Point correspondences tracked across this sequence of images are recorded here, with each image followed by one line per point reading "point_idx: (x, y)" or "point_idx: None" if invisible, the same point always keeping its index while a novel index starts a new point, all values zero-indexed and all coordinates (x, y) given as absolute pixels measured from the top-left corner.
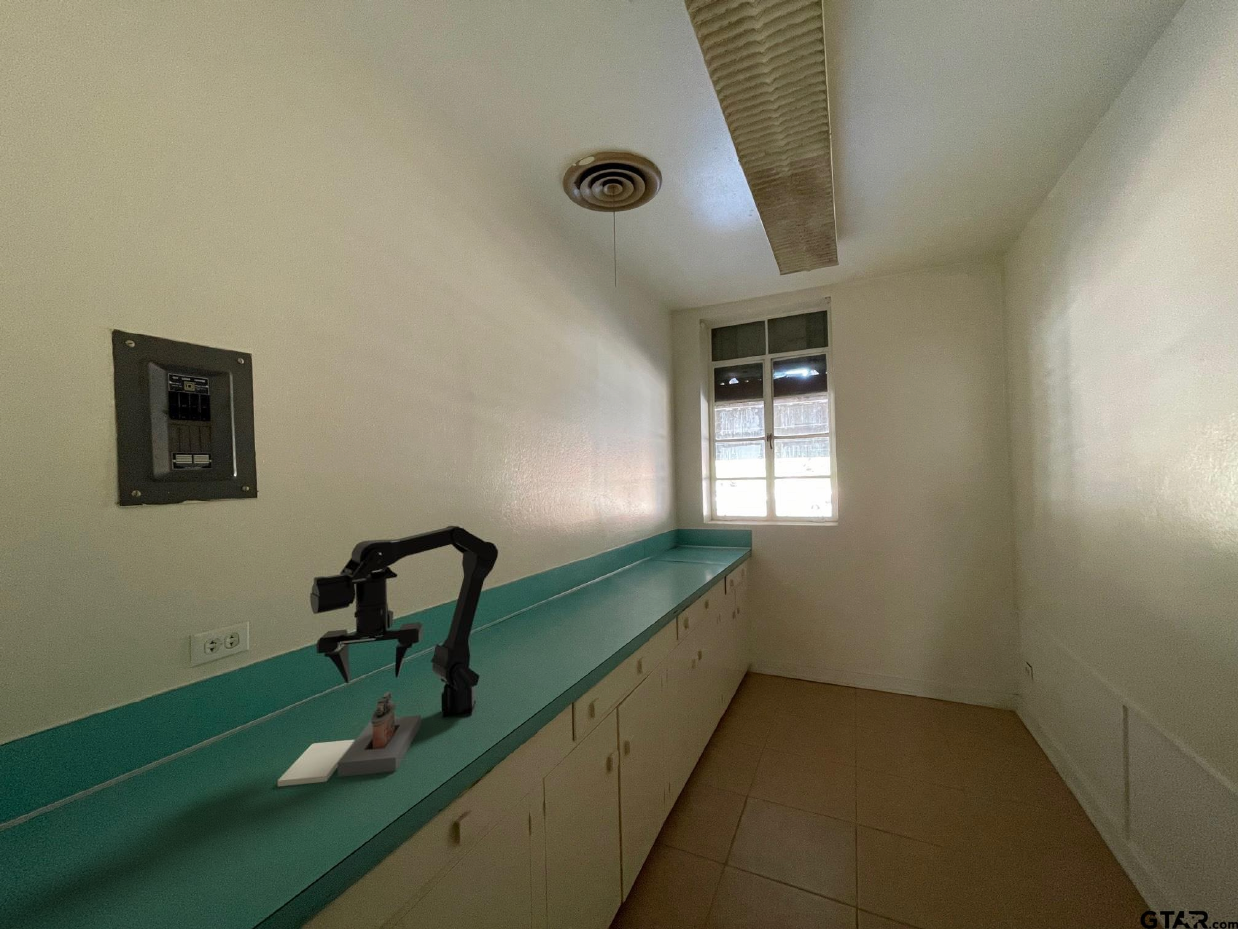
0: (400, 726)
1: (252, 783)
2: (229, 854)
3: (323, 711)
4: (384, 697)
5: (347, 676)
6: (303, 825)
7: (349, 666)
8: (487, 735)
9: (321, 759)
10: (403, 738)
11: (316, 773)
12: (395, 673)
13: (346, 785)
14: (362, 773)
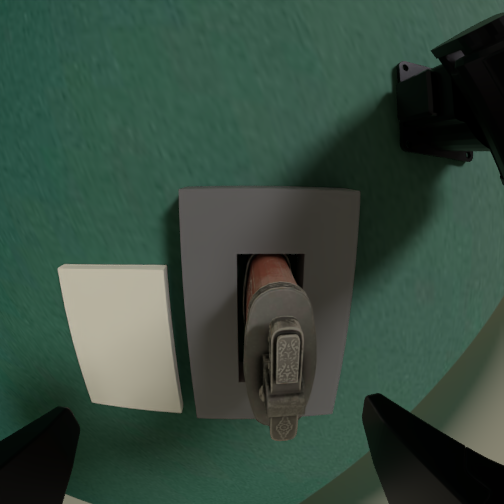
0: (309, 266)
1: (44, 370)
2: (151, 491)
3: (12, 58)
4: (283, 381)
5: (71, 469)
6: (213, 477)
7: (18, 454)
8: (493, 274)
9: (128, 353)
10: (336, 341)
11: (154, 402)
12: (371, 449)
13: (234, 420)
14: None
